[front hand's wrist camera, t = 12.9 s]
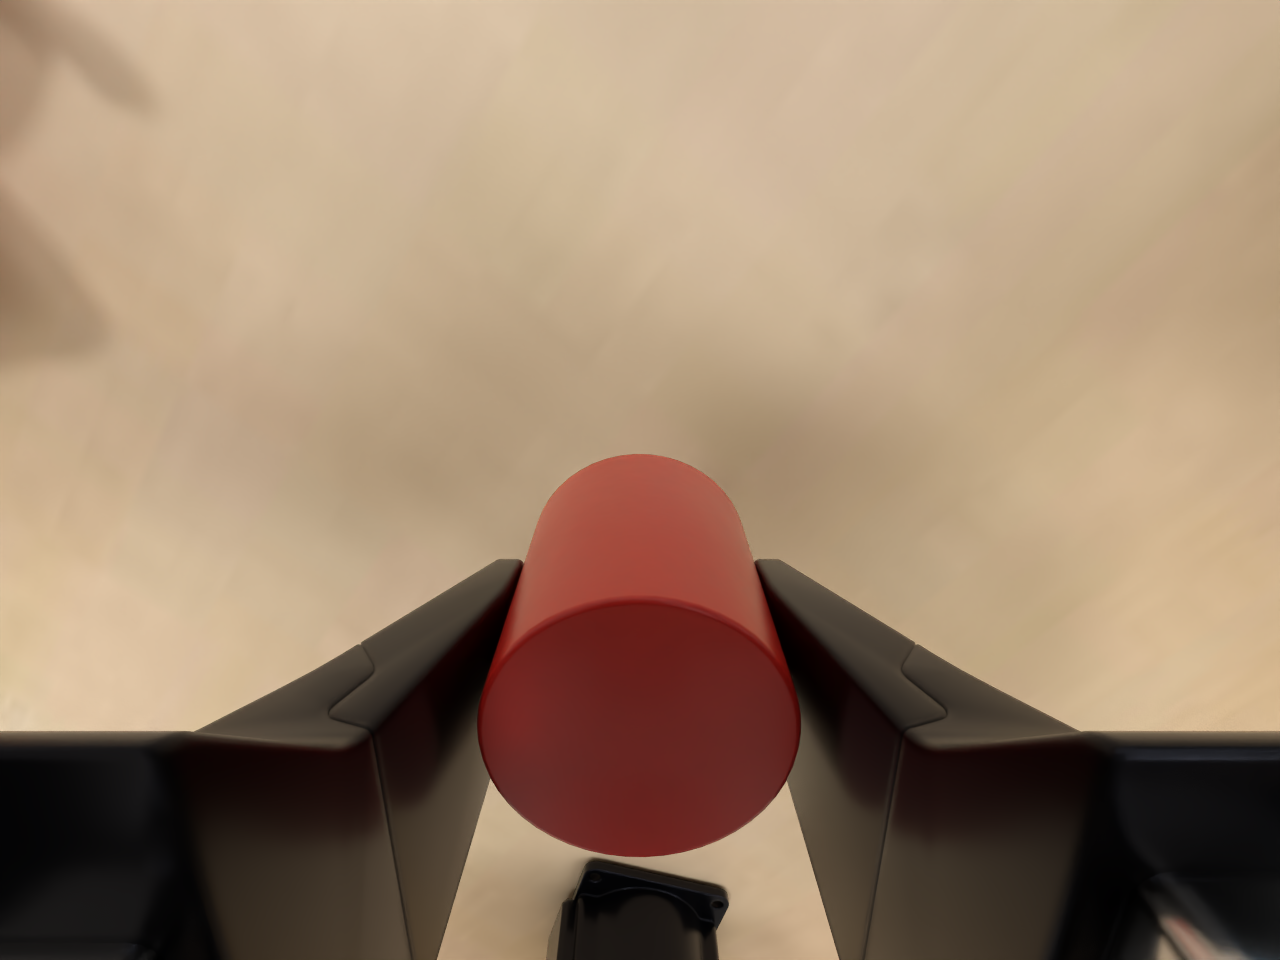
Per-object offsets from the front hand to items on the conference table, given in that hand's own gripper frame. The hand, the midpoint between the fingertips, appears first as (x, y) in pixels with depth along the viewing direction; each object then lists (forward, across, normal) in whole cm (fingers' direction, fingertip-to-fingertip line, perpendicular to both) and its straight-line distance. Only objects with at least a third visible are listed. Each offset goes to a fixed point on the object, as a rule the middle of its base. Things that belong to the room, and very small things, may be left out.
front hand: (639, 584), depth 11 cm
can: (+1, 0, 0) cm, 1 cm away
